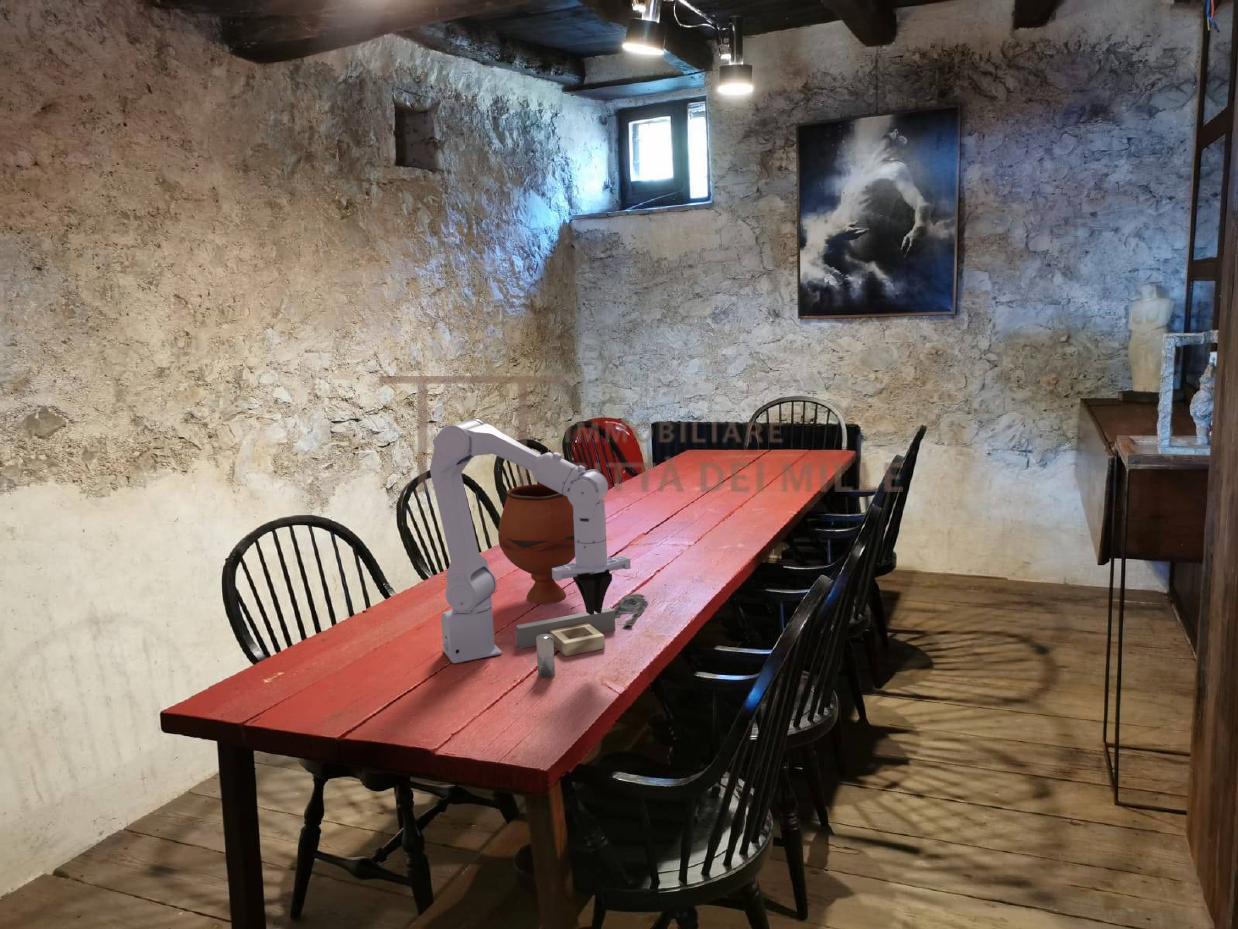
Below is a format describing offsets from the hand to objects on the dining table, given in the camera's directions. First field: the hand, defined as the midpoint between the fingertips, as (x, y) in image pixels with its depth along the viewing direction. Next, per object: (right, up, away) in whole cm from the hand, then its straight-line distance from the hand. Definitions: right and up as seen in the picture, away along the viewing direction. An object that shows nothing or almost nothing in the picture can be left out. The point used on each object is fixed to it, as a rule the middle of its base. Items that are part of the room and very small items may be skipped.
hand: (593, 612), depth 166 cm
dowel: (-8, -11, -3) cm, 14 cm away
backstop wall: (-6, -7, +15) cm, 17 cm away
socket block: (-3, -8, +10) cm, 13 cm away
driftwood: (+6, -5, +29) cm, 30 cm away
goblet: (-12, -3, +40) cm, 41 cm away
